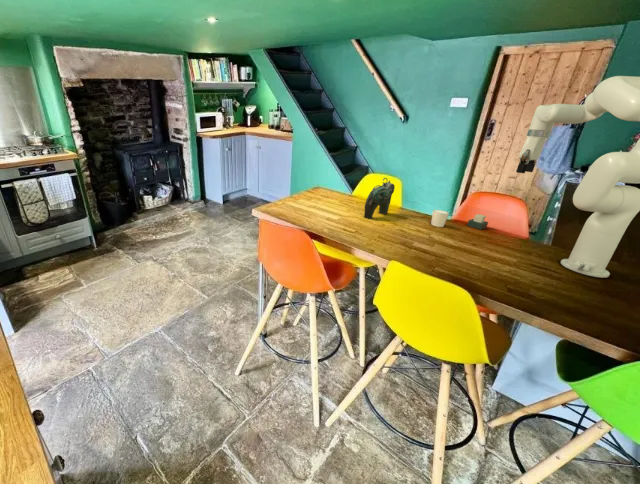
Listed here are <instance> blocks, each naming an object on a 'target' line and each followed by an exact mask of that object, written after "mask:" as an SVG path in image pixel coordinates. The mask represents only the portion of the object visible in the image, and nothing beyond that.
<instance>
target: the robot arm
mask: <svg viewBox="0 0 640 484" xmlns="http://www.w3.org/2000/svg"><path fill="white" fill-rule="evenodd" d="M605 113H610V114H612V115H613V116H614V117H616V118H617V119H619V120H622V121H627V122H640V76H632V75H631V76H630V75H615V76H610V77H608V78H606V79H604V80H602V81H601V82H599V83H598V84H597V85H596V87H595V88H594V90H593V91H592V92H590V94H588V95H587V96H586V97H585V100H584V104H576V103H575V104H574V103H573V104H572V103H552V104H540V105H538V106H537V107H536V109H535V112H534V114H533V115H532V116H533V117H532V119H531V122H530V124H529V125H530V126H529V128H528V130H527V133H526V139H525V141H524V143H523V146H522V148H521V150H520V152H519V155H518V159H519V162H518V165H517V167H516V171H515V173H517V174H518V173H519V174H525V173H526V172H527V173H533V172H534V169H535V167H536V164H537V160H539V158H540V156H541V153H542V150H543V147H544V144H545V141H546V139H549V137H550V135H551V132H552V129H553V127H554V124H566V125H568V124H569V125H578V124H583V123H586V122H590V121H594V120H597V119H599V118H600V117H602V116H603V115H604V114H605ZM618 183H622V184H618ZM623 183H624V184H623ZM625 184H640V138H638V140H637V142H636V143H635V145H634V146H633V147H632V148H631V150H629V151H612V152H608V153H605V154H603V155H601V156H599V157H598V158H597V159H596V160H594V162H593V163H592V164H591V165H590V167H589V168H588V170H587V172H586V173H585V174H584V176H583V178H582V179H581V181H580V182H579V184H578V185H577V187H576V189H575V191H574V193H573V196H572V203H573V206H574V207H575V208H577V209H578V210H580V211H585V212H593V213H592V214H591V215H590V216H589V217H588V218H587V219H586V221H585V222H584V224H583V227H582V229H581V231H580V233H579V235H578V238H577V239H576V242H575V244H574V246H573V248H572V250H571V252H570V255H569V257H568V258H563V259H561V260H560V264H561V266H563V267H564V268H566V269H568V270H571V271H572V272H575V273H577V274H581V275H585V276H589V277H594V278H601V279H603V278H604V279H605V278H609V277H610V275H611V273H610V272H609V270H607V269H606V268H607V266H608V264H609V263H610V261H611V259H612V257H613V255H614V253H615V251H616V249H617V248H618V245H619V243H620V241H621V240H622V238H623V236H624V235H625V232H626V230H627V228H628V227H629V226H630V224H631V222H632V221H633V219H634V218H636V215H637V214H638V213H640V188H638V187H636V186H631V185H625Z"/></svg>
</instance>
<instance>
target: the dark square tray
mask: <svg viewBox="0 0 640 484" xmlns="http://www.w3.org/2000/svg"><path fill="white" fill-rule="evenodd" d="M473 220H474V218H471V219H469V220H468V222H467V224H466V226H467V227H470V228H474V229H477V230H485V229H486V228H487V227H488V225H489V222H488V221H485V220H484V222H483V223H479V222H476V221H473Z"/></svg>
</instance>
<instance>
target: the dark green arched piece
mask: <svg viewBox="0 0 640 484" xmlns="http://www.w3.org/2000/svg"><path fill="white" fill-rule="evenodd" d="M384 180H386V182H384ZM394 192H395V184H394V183H391V181H390V179H389V180H388V178H387V177H383V179H382V184H381V185H380V184H377V185H375V186H374V187H372V190H371V191H370V192H369V193H368V194H367V195H368V196H367V198H366V201H365V204H364V215H363V217H364V218H365V219H368V220H370V219H373V216H374V213H375V211H376V209H377V208H378V214H381V215H383V216H384V215H388V212H389V208H390V204H391V201H392V196H393V194H394Z"/></svg>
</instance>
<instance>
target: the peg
mask: <svg viewBox="0 0 640 484" xmlns="http://www.w3.org/2000/svg"><path fill="white" fill-rule="evenodd" d="M486 218H487V216H486V215H484V214H480V213H478V214H474V218H473V219H474V220H473V221H476V222H479V223H483V222H484V221H485V220H486Z"/></svg>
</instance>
